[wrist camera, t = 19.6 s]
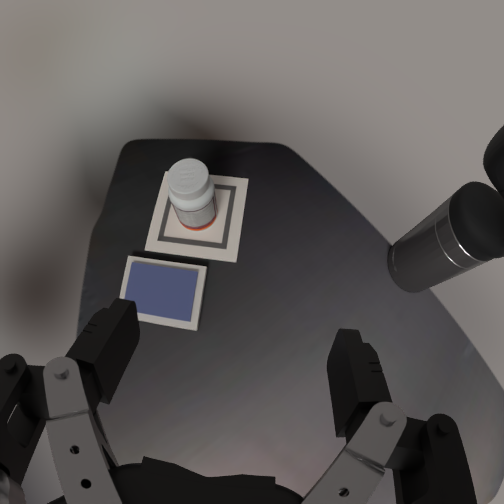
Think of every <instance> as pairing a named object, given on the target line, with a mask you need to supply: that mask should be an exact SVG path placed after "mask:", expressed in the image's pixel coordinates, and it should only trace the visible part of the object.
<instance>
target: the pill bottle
mask: <svg viewBox="0 0 504 504" xmlns="http://www.w3.org/2000/svg"><path fill="white" fill-rule="evenodd" d="M167 182H168V185H169V187H168V195H169V198H170V201H171V203H172V206H173V208H174V210H175V212H176V215H177V217H178V219H179V221H180V223H181V224H182V226H183V227H184V228H186V229H188V230H190V231H196V232H198V231H203V230H206V229H208V228H209V227H210V226H212V225H213V223H214V222H215V220H216V218H217V213H218V210H217V202H216V195H215V186H214V182H213V180H212V178H211V177H210V175H209V173H208V169H207V167H206V166H205V164H204V163H202V162H201V161H199V160H196V159H184V160H181V161H178V162H177V163H175V164H174V165H173V166H172V167H171V168H170V170H169V172H168V175H167Z"/></svg>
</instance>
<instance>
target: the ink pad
mask: <svg viewBox="0 0 504 504" xmlns="http://www.w3.org/2000/svg"><path fill="white" fill-rule="evenodd" d="M206 274H207V267H206V266H198V265H191V264H184V263H176V262H169V261H162V260H155V259H148V258H141V257H134V256H128V260H127V264H126V269H125V274H124V278H123V283H122V288H121V293H120V298H121V299H126V300H131V301H135V303H136V307H137V314H138V320H140V321H145V322H150V323H155V324H161V325H166V326H172V327H177V328H183V329H189V330H196V331H198V326H199V319H200V313H201V306H202V299H203V293H204V287H205V280H206Z"/></svg>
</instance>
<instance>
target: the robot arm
mask: <svg viewBox="0 0 504 504" xmlns="http://www.w3.org/2000/svg"><path fill="white" fill-rule="evenodd" d="M483 165H484V169H485V171H486V173H487V175H488V177H489V179H490V181H491V182H492V184H493V185H494V187H495V188H496V189H497V191H498V192H497V191H496V190H494V189H493V188H491V187H490V186H488V185H486V184H484V183H481V182H470V183H467V184H465V185H464V186H462V187H461V188H460V189H459V190H457V191H456V192H455V193H454V194H453V195H452V196H451V197H450V198H449V199H447V200H446V201H445V202H444V203H443V204H442V205H440V206H439V207H438V208H437V209H436V210H435V211H434V212H432V213H431V214H430V215H429V216H427V217H426V218H425V219H424V220H423V221H422V222H420V223H419V224H418V225H417V226H415V227H414V228H413V229H412V230H410V231H409V232H408V233H407V234H405V235H404V236H403V237H402V238H400V239H399V240H398V241H397V242H395V244H394V245H393V246H392V247H391V249H390V251H389V255H388V268H389V272H390V274H391V276H392V278H393V280H394V281H395V283H396V284H397V285H398V286H399V287H400V288H402V289H403V290H405V291H408V292H414V293H415V292H420V291H422V290H425V289H427V288H430V287H432V286H435V285H437V284H439V283H442V282H444V281H446V280H449V279H451V278H453V277H455V276H458V275H460V274H462V273H464V272H466V271H469V270H471V269H473V268H475V267H477V266H479V265H481V264H483V263H485V262H488V261H489V260H492V259H494V258H501V257H504V126H503V127H502V128H501V129H500V130H499V131H498V132H497V133H496V134H495V136H494V137H493V138H492V140H491V141H490V143H489V144H488V146H487V149H486V151H485V154H484V158H483ZM139 337H140V328H139V321H138V314H137V307H136V303H135V301H131V300H126V299H121V298H116V299H115V300H114V302H113V303H112V304H111V306H110V307H109V309H107V308H103V309H101V310H100V311H98V312H97V313H95V314H94V315H93V317H92V318H91V319H90V321H89V322H88V325H86V326H85V328H84V329H83V332H81V334H80V335H79V336H78V338H77V339H76V341H75V342H74V344H73V345H72V347H71V348H70V350H69V351H68V353H67V354H66V356H65V357H58V358H55V359H52V360H51V361H49V362H48V363H47V365H46V366H32V365H27V364H26V362H25V360H24V358H23V357H22V356H20V355H18V354H9V355H6V356H4V357H3V358H1V359H0V504H26V500H25V494H24V491H23V489H22V487H21V484H22V481H23V479H24V476H25V473H26V471H27V468H28V466H29V463H30V460H31V458H32V455H33V453H34V451H35V448H36V446H37V443H38V441H39V438H40V436H41V434H42V432H43V429H44V427H45V425H46V428H47V433H48V438H49V442H50V447H51V451H52V455H53V459H54V463H55V467H56V470H57V474H58V477H59V480H60V484H61V487H62V490H63V493H64V495H63V496H61V497H60V498H57V499H56V500H53V501H51V502H49V503H47V504H366V503H367V502H368V500H369V498H370V497H371V495H372V494H373V492H374V491H375V489H376V487H377V486H378V484H379V482H380V481H381V479H382V477H383V475H384V473H385V470H384V467H385V468H390V469H392V470H393V478H394V486H395V495H396V504H477V500H476V495H475V491H474V486H473V482H472V477H471V473H470V469H469V465H468V462H467V458H466V454H465V451H464V447H463V444H462V440H461V437H460V434H459V430H458V427H457V425H456V423H455V421H454V420H453V419H452V418H451V417H449V416H447V415H445V414H435V415H433V416H431V417H430V418H429V419H428V421H423V420H418V419H413V418H409V417H406V415H405V413H404V411H403V410H402V409H401V408H400V407H399V406H398V405H396V404H394V403H392V400H391V396H390V393H389V390H388V386H387V383H386V380H385V377H384V374H383V373H382V371H383V370H382V367H381V364H380V361H379V358H378V355H377V352H376V351H375V350H374V349H373V347H372V346H371V345H370V344H369V343H363V342H362V339H361V335H360V332H359V331H358V330H354V329H339V330H338V332H337V334H336V337H335V340H334V343H333V345H332V348H331V351H330V353H329V356H328V360H327V373H328V380H329V387H330V394H331V401H332V408H333V416H334V424H335V432H336V437H346V443H347V444H346V445H345V446H344V448H343V449H342V450H341V452H340V453H339V454H338V456H337V457H336V458H335V460H334V461H333V462H332V464H331V465H330V466H329V468H328V469H327V470H326V471H325V473H324V474H323V475H322V476H321V478H320V479H319V480H318V481H317V482H316V484H315V485H314V486H313V487H312V488H311V489H310V490H309V492H308V493H307V494H306V495H305V496H304V497H301V496H300V495H299V494H297V493H296V492H294V491H292V490H290V489H288V488H286V487H283V486H281V485H277V484H275V477H271V476H256V475H244V474H241V475H232V476H220V477H205V476H202V475H200V474H197V473H195V472H192V471H190V470H188V469H185V468H183V467H181V466H179V465H176V464H174V463H169V462H165V461H160V460H156V459H152V458H148V457H145V456H144V457H143V460H142V463H133V464H126V465H121V466H119V464H118V462H117V460H116V458H115V456H114V454H113V452H112V450H111V447H110V445H109V442H108V439H107V437H106V434H105V431H104V428H103V426H102V423H101V420H100V417H99V414H98V411H97V406H98V404H99V402H103V403H106V404H110V402H111V399H112V397H113V395H114V393H115V391H116V389H117V386H118V384H119V382H120V380H121V378H122V376H123V374H124V371H125V369H126V367H127V365H128V363H129V361H130V359H131V357H132V355H133V353H134V351H135V349H136V347H137V345H138V342H139ZM15 405H17V406H16V408H15V410H14V412H13V414H12V416H11V418H10V420H9V422H8V423H7V421H8V419H9V417H10V415H11V413H12V411H13V409H14V407H15Z"/></svg>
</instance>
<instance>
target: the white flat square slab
mask: <svg viewBox="0 0 504 504" xmlns="http://www.w3.org/2000/svg"><path fill="white" fill-rule="evenodd" d="M168 172H169V171H165V175H164V178H163V181H162V185H161V188H160V192H159V195H158V199H157V203H156V206H155V210H154V214H153V218H152V222H151V226H150V230H149V234H148V238H147V242H146V246H145V250H146V251H153V252H160V253H168V254H175V255H183V256H191V257H198V258H206V259H214V260H221V261H229V262H236V261H237V254H238V247H239V240H240V233H241V227H242V220H243V213H244V206H245V199H246V193H247V186H248V179H245V178H236V177H227V176H217V175H210V177H211V178H212V180H213V182H214V186H215V195H216V202H217V210H218V213H217V218H216V220H215V222H214V223H213V225H212V226H210V227H209V228H208V229H206V230H203V231H198V232H196V231H190V230H188V229H186V228H184V227H183V226H182V224H181V223H180V221H179V219H178V217H177V215H176V212H175V210H174V208H173V206H172V203H171V201H170V198H169V195H168V187H169V185H168V182H167V175H168Z"/></svg>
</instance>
